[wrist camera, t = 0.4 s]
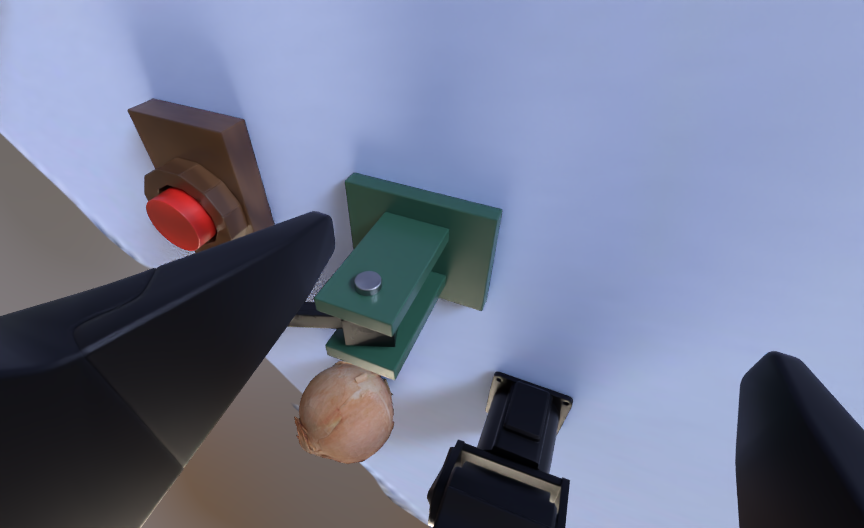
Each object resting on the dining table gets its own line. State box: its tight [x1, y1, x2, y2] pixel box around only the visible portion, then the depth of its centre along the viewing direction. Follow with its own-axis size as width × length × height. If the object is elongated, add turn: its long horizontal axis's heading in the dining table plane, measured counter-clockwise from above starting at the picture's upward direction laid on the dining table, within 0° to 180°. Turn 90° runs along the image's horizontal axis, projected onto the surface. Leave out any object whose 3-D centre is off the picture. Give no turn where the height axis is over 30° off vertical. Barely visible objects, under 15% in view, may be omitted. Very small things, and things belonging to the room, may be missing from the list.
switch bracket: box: [314, 173, 502, 380], centre depth 25 cm, size 10×8×9 cm
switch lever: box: [288, 302, 398, 347], centre depth 24 cm, size 12×6×2 cm, turn 88°
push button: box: [146, 187, 217, 251], centre depth 30 cm, size 4×4×2 cm
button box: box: [128, 99, 274, 253], centre depth 32 cm, size 13×8×4 cm, turn 178°
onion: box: [294, 361, 394, 464], centre depth 42 cm, size 10×9×10 cm
